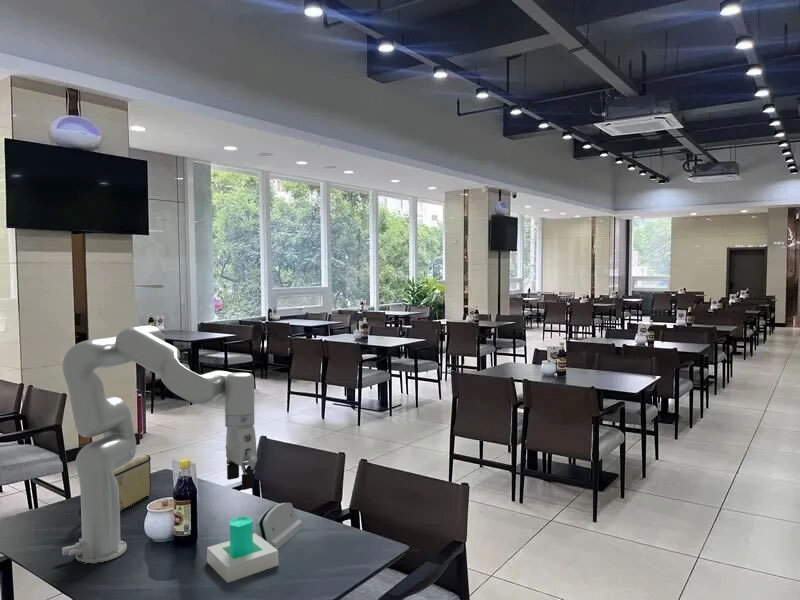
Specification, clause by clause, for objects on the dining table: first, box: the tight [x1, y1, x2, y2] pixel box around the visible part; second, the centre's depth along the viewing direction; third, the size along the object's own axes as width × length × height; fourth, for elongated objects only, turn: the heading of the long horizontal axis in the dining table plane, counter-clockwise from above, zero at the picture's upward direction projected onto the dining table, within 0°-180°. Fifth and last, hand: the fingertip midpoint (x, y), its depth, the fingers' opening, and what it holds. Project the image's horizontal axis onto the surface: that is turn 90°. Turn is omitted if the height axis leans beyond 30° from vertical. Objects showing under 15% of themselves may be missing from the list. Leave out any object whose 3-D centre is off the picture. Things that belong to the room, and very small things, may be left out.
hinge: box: [255, 502, 305, 550], centre depth 170 cm, size 17×5×10 cm, turn 162°
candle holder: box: [206, 532, 279, 584], centre depth 153 cm, size 14×14×4 cm
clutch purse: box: [78, 454, 152, 518], centre depth 191 cm, size 30×7×15 cm, turn 166°
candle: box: [229, 515, 254, 559], centre depth 153 cm, size 6×6×12 cm
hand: (240, 483), depth 153 cm, fingers open, 9 cm apart
